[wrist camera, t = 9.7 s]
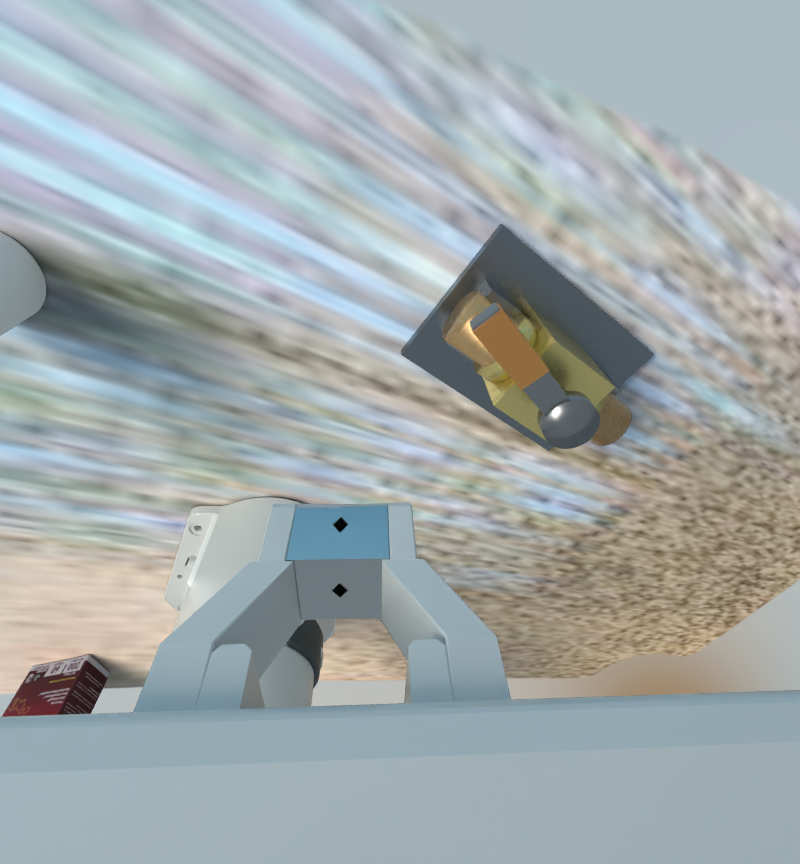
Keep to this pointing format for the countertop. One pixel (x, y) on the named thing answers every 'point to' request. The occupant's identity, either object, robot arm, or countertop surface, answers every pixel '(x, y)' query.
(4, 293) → the grey bottle
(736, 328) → the countertop surface
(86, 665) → the supplement box
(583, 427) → the lever
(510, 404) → the valve
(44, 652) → the countertop surface
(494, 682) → the robot arm
